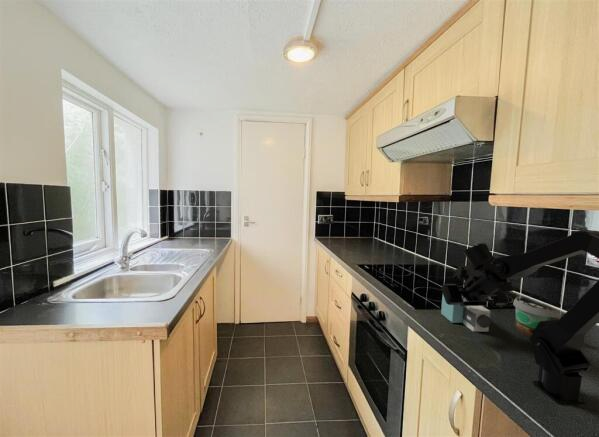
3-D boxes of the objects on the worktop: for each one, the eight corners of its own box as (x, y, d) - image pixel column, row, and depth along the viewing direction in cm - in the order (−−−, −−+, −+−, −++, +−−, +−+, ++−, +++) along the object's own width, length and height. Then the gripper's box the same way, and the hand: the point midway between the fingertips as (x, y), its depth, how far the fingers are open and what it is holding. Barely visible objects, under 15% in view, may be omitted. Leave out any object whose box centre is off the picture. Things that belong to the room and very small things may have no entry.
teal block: (462, 322, 94) (464, 297, 93) (452, 322, 94) (454, 296, 93) (450, 313, 101) (452, 289, 100) (441, 313, 101) (442, 289, 100)
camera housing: (490, 333, 88) (492, 310, 87) (474, 333, 88) (476, 310, 87) (465, 314, 101) (466, 295, 100) (451, 314, 101) (453, 294, 100)
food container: (502, 326, 93) (504, 297, 92) (513, 323, 95) (516, 295, 94) (545, 345, 82) (548, 313, 81) (557, 341, 84) (561, 310, 83)
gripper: (505, 260, 85) (478, 282, 97) (446, 259, 85) (426, 282, 97) (523, 294, 78) (492, 313, 90) (459, 293, 78) (436, 313, 90)
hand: (461, 304), depth 92 cm, fingers closed
